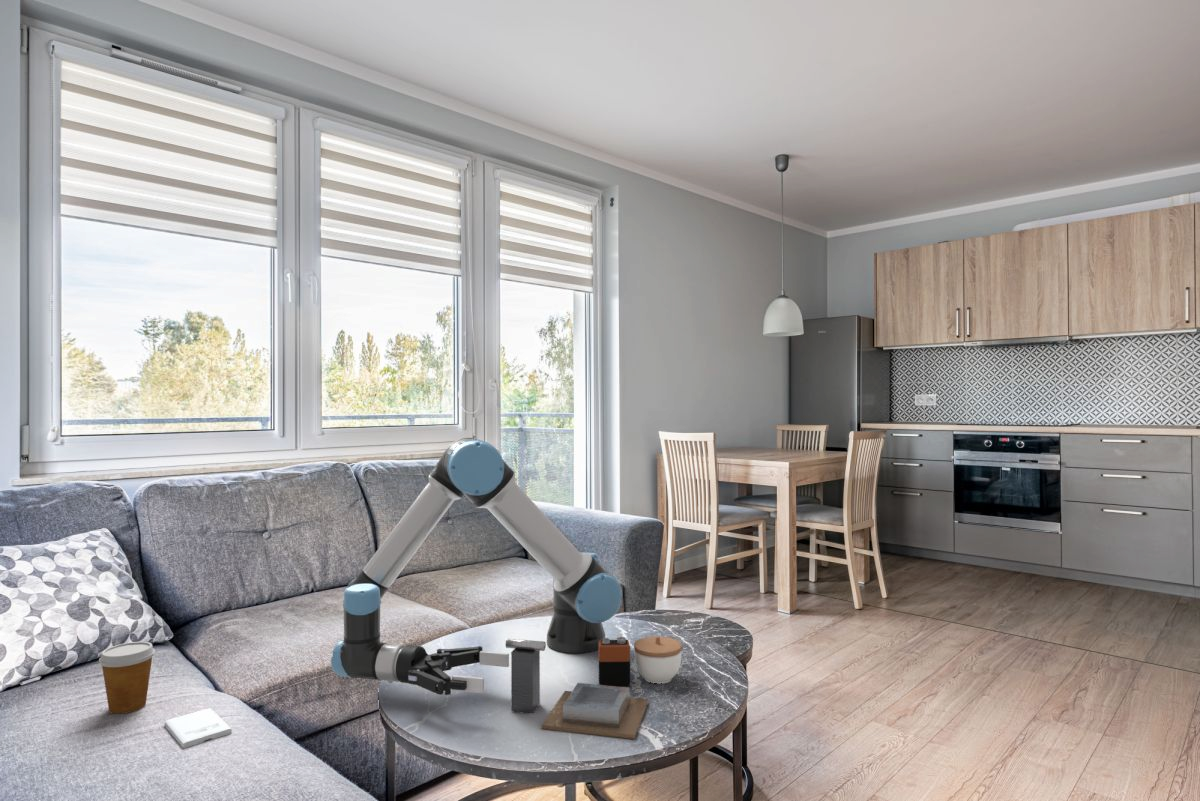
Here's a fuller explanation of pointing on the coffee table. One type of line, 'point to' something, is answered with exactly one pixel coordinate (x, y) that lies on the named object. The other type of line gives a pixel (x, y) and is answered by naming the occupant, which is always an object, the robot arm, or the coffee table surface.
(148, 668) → the disposable coffee cup
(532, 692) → the chuck key
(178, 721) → the external hard drive
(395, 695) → the coffee table surface
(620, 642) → the battery
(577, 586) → the robot arm
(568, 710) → the chuck block
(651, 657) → the lidded jar
